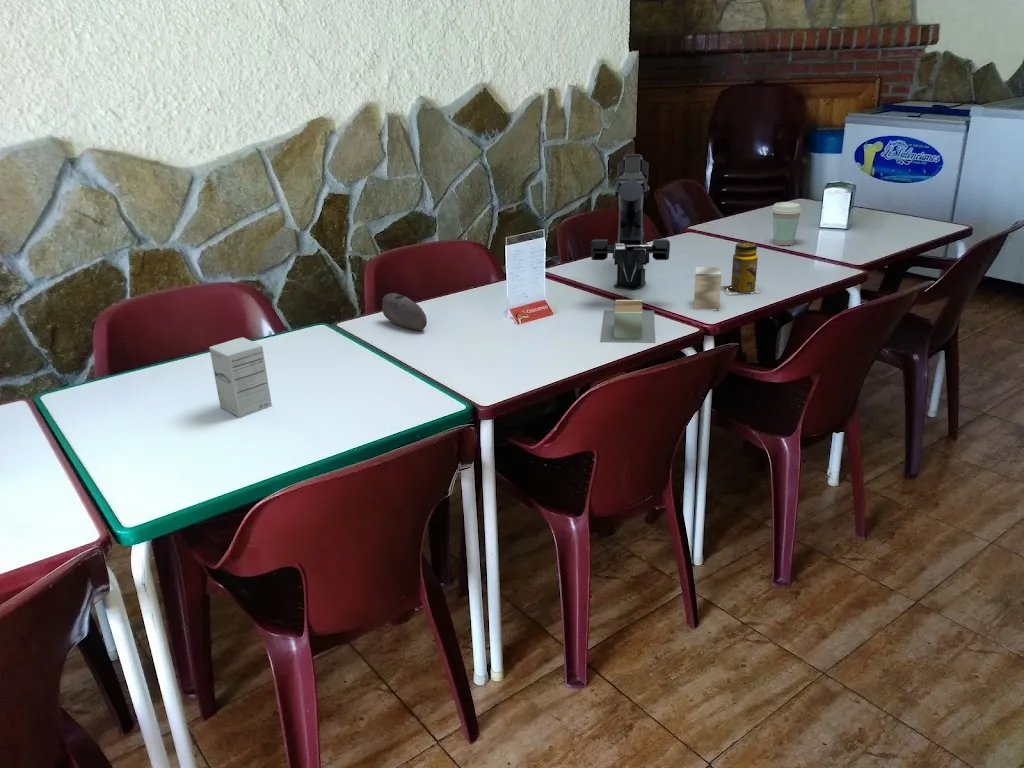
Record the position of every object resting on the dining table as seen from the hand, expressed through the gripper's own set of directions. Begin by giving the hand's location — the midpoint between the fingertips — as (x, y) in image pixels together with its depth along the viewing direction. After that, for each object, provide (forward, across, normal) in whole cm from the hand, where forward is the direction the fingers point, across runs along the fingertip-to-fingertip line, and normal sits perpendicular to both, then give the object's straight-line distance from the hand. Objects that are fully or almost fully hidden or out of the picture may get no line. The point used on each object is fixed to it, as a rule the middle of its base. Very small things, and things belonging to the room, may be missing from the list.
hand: (629, 281), depth 202 cm
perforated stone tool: (+14, +52, +2) cm, 54 cm away
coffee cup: (-41, -46, -54) cm, 82 cm away
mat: (+13, 0, +2) cm, 13 cm away
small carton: (+10, 0, +4) cm, 11 cm away
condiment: (-7, -28, -20) cm, 35 cm away
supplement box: (+46, +72, +36) cm, 93 cm away
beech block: (+2, -19, -10) cm, 21 cm away
